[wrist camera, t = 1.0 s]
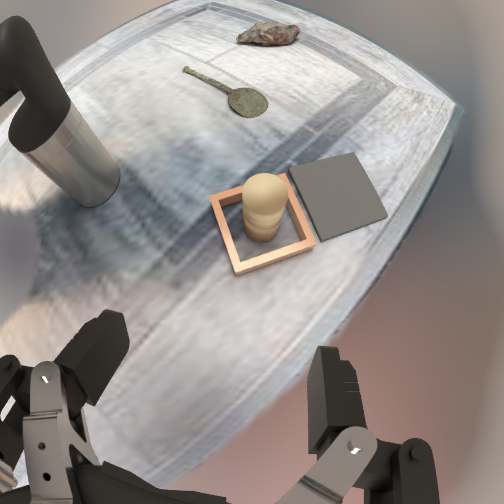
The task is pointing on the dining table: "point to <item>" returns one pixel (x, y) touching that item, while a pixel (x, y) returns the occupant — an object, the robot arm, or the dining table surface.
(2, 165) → the dining table surface
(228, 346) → the dining table surface
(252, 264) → the terracotta collar
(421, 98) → the dining table surface
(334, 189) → the charcoal mat
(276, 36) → the mineral rock
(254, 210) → the maple post
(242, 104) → the soupspoon
